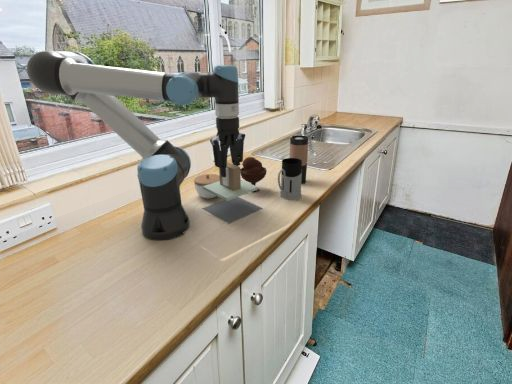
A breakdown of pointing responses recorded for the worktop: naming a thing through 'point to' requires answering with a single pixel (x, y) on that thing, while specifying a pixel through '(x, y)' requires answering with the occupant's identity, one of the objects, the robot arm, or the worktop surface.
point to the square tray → (232, 209)
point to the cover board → (229, 192)
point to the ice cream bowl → (252, 171)
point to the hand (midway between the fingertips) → (230, 183)
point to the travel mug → (300, 152)
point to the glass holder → (290, 179)
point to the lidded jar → (203, 181)
